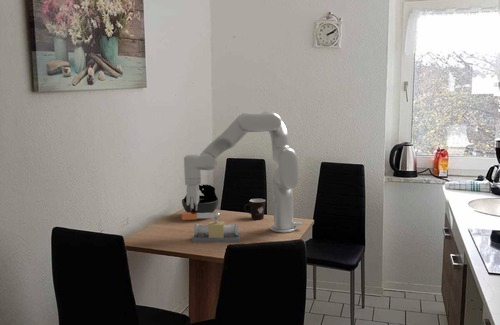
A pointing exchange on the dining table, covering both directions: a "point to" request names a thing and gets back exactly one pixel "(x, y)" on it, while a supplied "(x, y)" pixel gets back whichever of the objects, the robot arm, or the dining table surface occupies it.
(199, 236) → the valve base
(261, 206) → the coffee mug
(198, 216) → the valve lever
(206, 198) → the bowl of black rocks
